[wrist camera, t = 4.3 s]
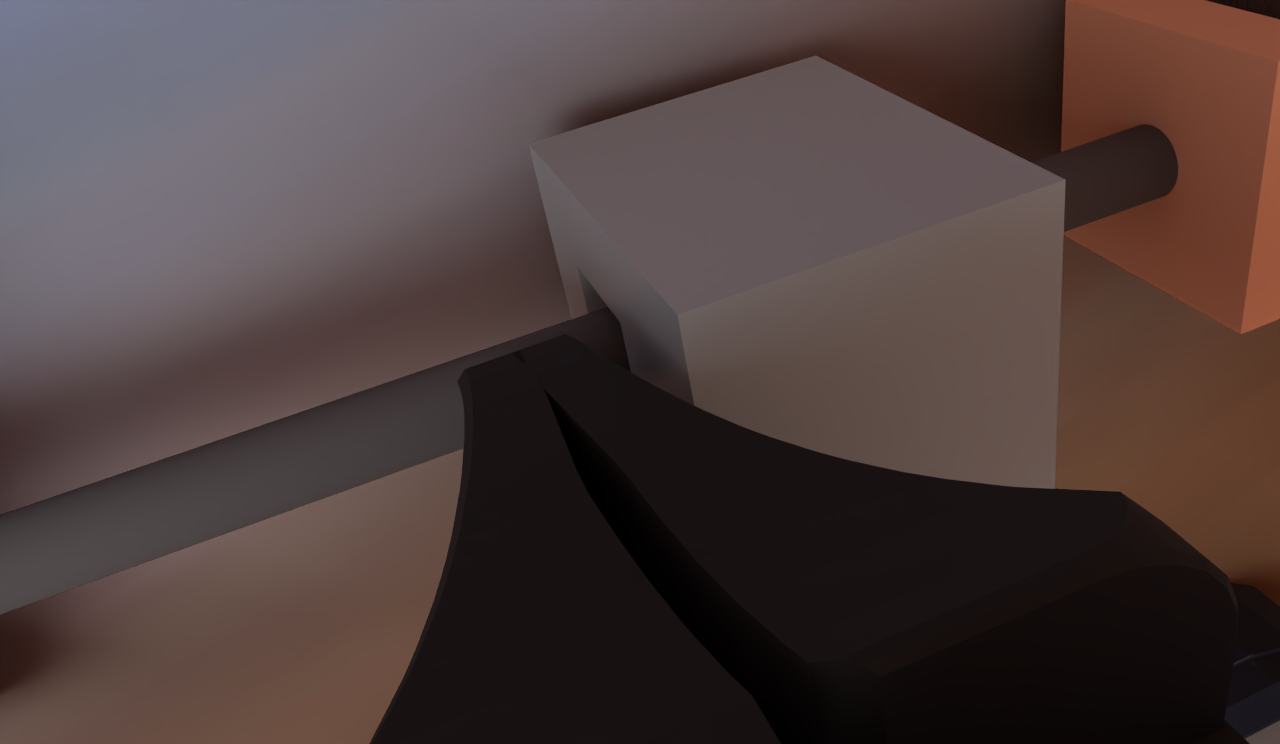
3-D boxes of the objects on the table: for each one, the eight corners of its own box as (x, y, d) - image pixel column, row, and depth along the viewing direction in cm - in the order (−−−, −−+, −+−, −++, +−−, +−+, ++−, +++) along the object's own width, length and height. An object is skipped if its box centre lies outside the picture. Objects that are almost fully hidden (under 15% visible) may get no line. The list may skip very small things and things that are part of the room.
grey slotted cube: (592, 403, 16) (736, 632, 12) (527, 143, 14) (677, 314, 10) (840, 314, 17) (1054, 501, 13) (815, 55, 15) (1065, 180, 11)
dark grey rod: (-188, 679, 14) (-286, 937, 11) (-386, 450, 12) (-574, 688, 9) (1217, 175, 18) (1423, 262, 15) (1243, -56, 16) (1486, -9, 13)
